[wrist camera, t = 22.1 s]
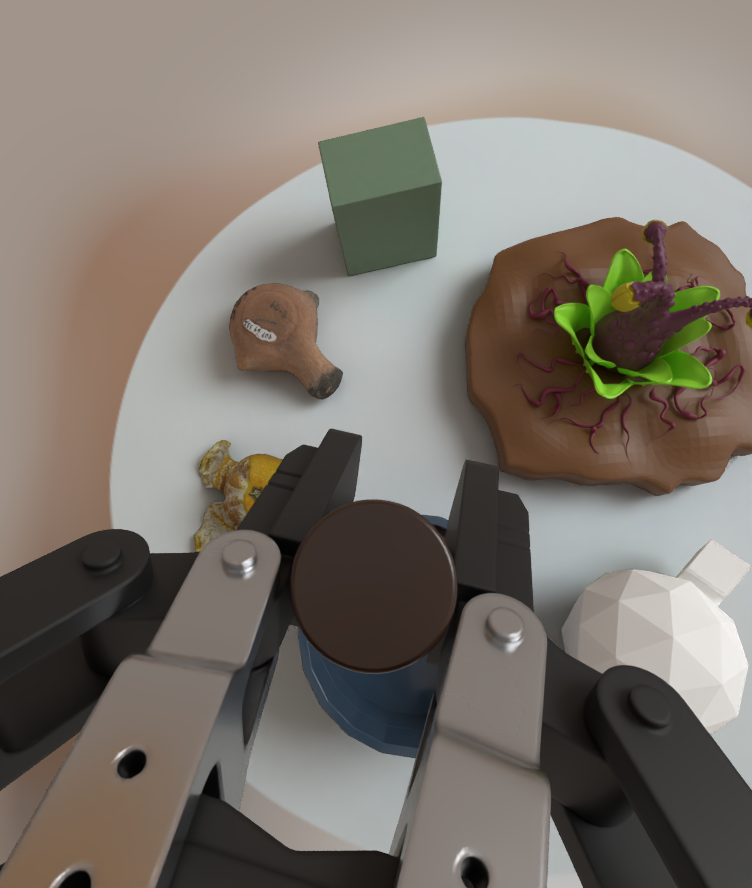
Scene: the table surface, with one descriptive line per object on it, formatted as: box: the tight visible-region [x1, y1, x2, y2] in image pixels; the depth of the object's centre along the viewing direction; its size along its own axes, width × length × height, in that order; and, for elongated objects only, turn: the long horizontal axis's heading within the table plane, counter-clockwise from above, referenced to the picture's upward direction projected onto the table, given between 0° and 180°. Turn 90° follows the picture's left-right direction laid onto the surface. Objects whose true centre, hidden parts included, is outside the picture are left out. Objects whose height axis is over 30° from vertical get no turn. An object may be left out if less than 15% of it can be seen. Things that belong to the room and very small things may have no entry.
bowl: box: [298, 515, 448, 758], centre depth 30 cm, size 13×13×6 cm
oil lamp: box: [229, 283, 343, 399], centre depth 36 cm, size 9×4×8 cm
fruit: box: [194, 440, 282, 552], centre depth 34 cm, size 8×8×4 cm
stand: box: [318, 117, 442, 276], centre depth 35 cm, size 7×5×8 cm
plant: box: [465, 217, 752, 496], centre depth 30 cm, size 20×20×11 cm
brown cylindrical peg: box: [290, 500, 458, 674], centre depth 11 cm, size 3×3×9 cm
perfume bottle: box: [561, 539, 752, 735], centre depth 28 cm, size 9×9×12 cm
